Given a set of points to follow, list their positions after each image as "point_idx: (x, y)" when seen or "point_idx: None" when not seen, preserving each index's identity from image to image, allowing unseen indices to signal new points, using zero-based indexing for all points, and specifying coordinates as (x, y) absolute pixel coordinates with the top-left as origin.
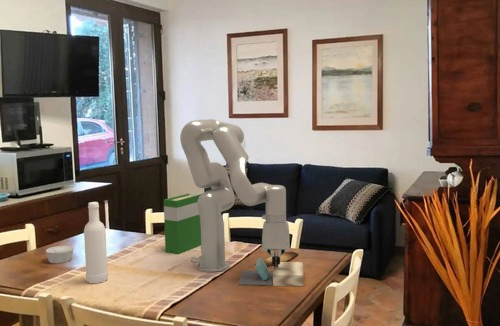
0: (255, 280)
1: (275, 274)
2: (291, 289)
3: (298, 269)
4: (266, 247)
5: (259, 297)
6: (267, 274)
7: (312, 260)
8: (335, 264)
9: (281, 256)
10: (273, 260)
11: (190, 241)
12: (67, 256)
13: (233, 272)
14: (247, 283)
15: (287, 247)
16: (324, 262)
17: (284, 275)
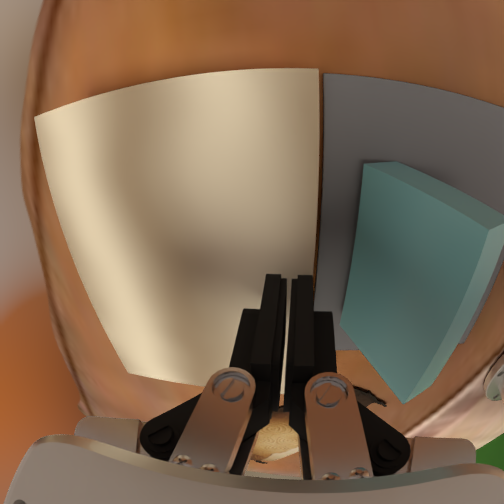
0: (447, 177)
1: (287, 91)
2: (154, 18)
3: (98, 257)
4: (468, 496)
5: None
6: (365, 237)
7: (158, 415)
8: (77, 374)
9: (270, 446)
10: (316, 340)
11: (501, 453)
12: None
13: (500, 323)
14: (497, 118)
15: (34, 449)
16: (115, 395)
17: (179, 77)
